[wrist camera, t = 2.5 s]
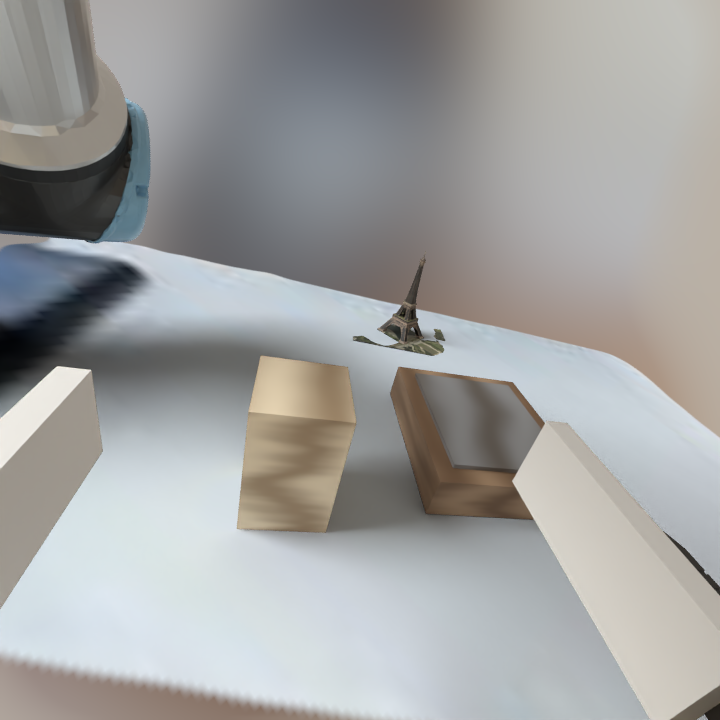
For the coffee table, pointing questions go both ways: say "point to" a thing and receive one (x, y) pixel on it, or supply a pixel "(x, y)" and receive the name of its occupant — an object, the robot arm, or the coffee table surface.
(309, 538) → the coffee table surface
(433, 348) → the eiffel tower figurine
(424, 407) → the walnut frame
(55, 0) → the robot arm
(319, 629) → the coffee table surface
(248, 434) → the oak block
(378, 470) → the coffee table surface
